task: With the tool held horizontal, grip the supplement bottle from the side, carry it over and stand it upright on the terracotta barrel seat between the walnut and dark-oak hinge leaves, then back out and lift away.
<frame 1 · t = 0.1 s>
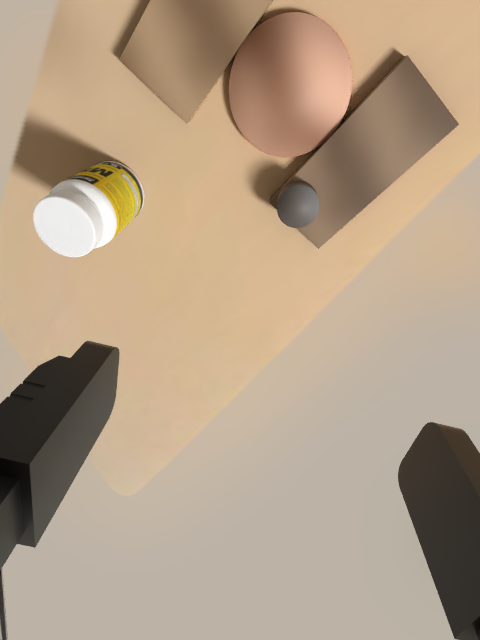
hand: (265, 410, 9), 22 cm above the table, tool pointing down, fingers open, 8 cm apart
supplement bottle: (117, 190, 30), on the table
hinge leaves: (289, 91, 24), on the table
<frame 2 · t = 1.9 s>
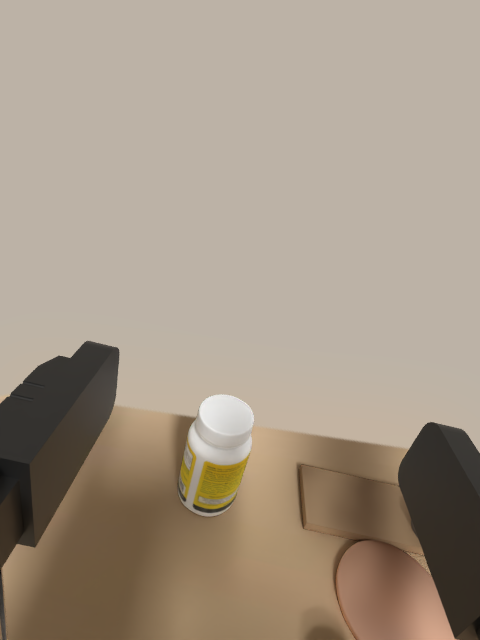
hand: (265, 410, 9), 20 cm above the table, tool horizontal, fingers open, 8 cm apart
supplement bottle: (205, 491, 29), on the table
hinge leaves: (392, 603, 25), on the table
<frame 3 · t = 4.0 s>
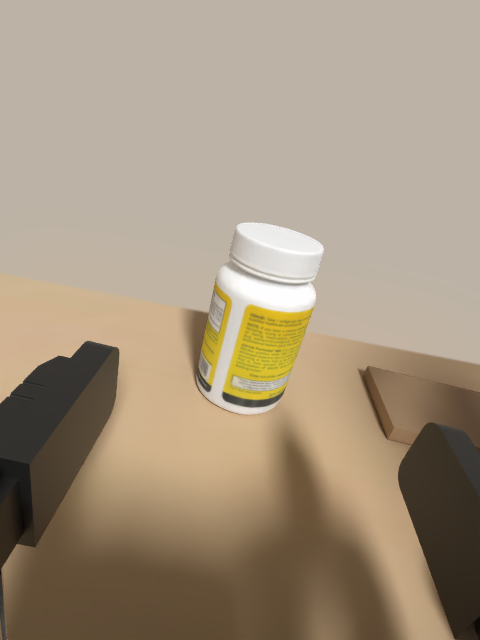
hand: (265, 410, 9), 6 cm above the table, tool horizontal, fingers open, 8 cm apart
supplement bottle: (237, 388, 20), on the table
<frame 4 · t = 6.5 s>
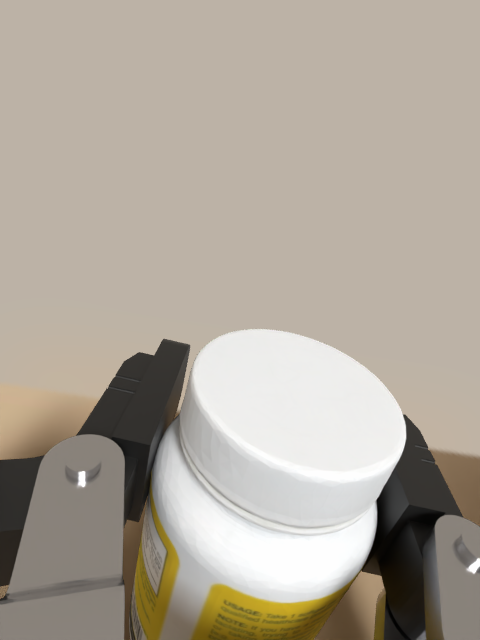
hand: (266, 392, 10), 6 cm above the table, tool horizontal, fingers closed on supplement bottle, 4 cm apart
supplement bottle: (211, 613, 11), on the table, touching gripper
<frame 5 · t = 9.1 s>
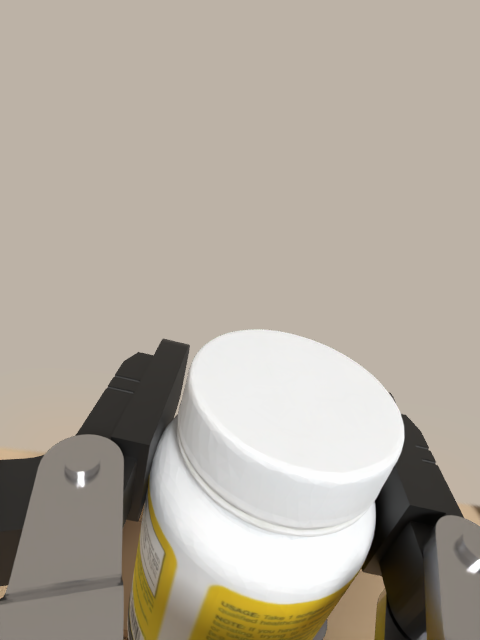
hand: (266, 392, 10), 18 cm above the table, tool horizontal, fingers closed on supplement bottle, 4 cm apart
supplement bottle: (210, 614, 11), point 11 cm above the table, touching gripper
when the fingers open (8 cm above the table, at t = 11.6 s): supplement bottle drops 1 cm, resting on hinge leaves.
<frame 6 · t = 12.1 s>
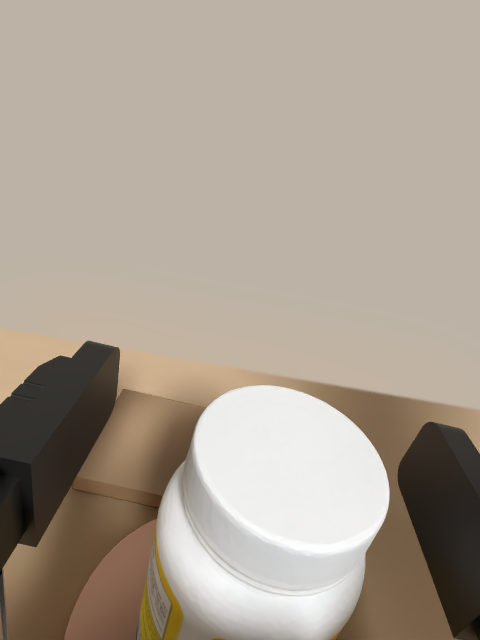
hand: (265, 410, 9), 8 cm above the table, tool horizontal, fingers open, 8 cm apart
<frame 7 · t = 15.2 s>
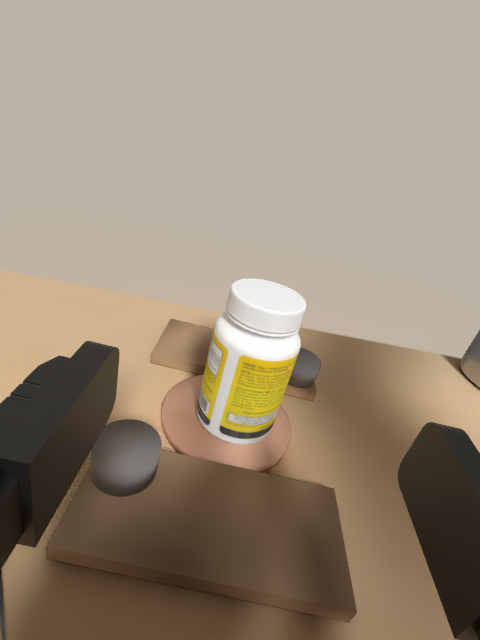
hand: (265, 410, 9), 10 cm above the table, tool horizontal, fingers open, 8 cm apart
supplement bottle: (233, 419, 22), resting on hinge leaves
hinge leaves: (226, 420, 22), on the table
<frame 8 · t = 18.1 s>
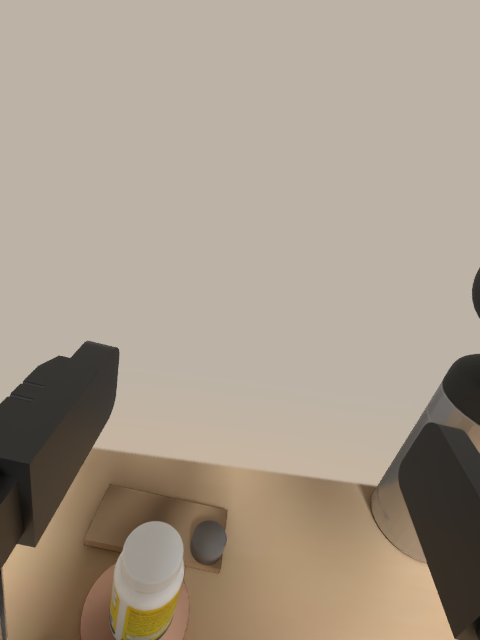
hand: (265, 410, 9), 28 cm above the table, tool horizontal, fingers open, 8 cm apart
supplement bottle: (141, 613, 28), resting on hinge leaves
hinge leaves: (136, 612, 28), on the table
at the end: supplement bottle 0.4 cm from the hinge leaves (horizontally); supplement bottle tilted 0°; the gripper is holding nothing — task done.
